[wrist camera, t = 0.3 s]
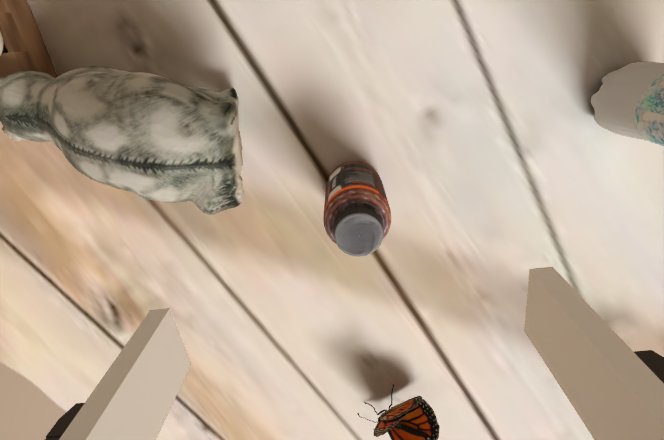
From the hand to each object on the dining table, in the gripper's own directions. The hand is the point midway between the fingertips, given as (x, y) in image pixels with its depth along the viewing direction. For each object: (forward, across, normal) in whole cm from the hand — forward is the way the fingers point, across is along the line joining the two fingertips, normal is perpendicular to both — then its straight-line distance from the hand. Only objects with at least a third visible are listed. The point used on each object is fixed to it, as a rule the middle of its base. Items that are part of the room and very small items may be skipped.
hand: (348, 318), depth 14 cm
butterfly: (+27, +2, -37) cm, 46 cm away
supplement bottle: (+28, +1, -5) cm, 28 cm away
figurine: (+27, -17, +5) cm, 32 cm away
